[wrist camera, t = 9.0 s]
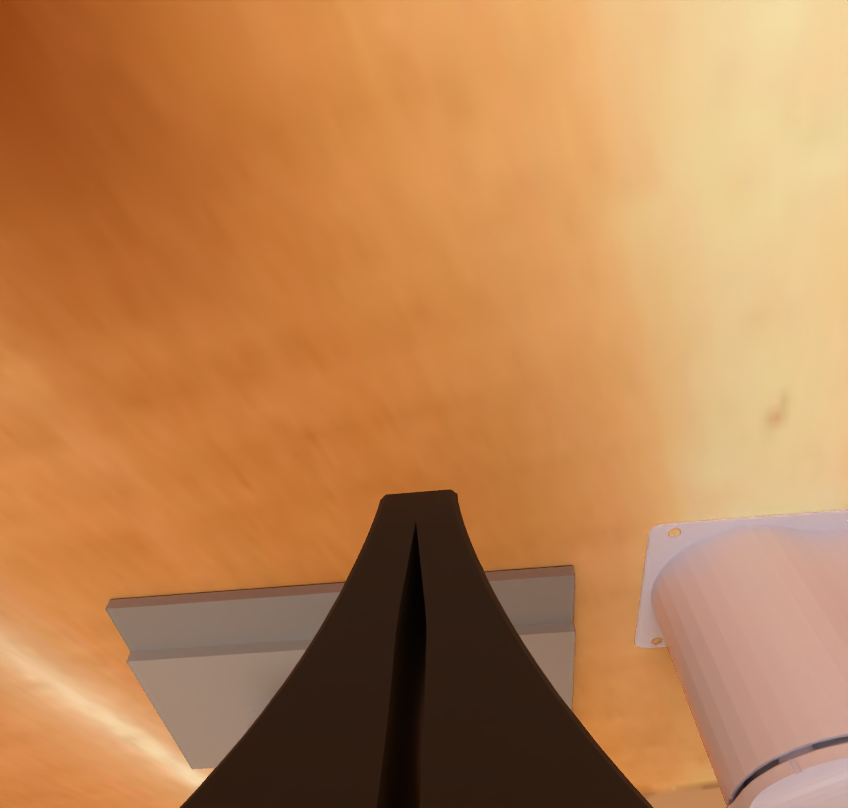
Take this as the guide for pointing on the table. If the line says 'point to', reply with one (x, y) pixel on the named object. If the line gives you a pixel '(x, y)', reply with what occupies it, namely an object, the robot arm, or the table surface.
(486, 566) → the table surface
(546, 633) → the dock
